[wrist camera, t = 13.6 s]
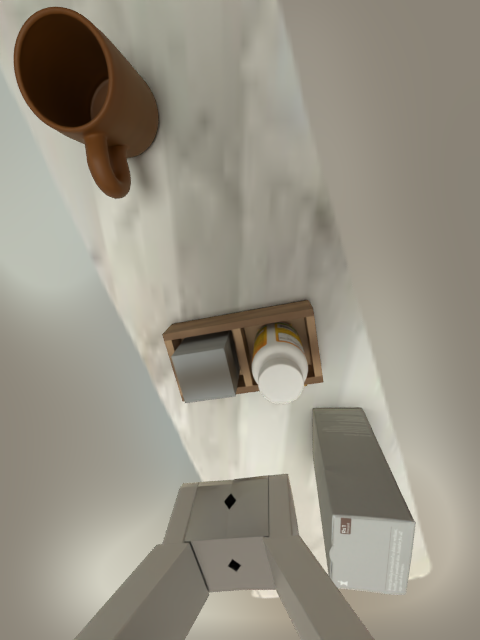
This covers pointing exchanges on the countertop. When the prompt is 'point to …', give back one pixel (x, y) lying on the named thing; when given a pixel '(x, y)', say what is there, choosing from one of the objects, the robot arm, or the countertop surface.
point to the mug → (86, 92)
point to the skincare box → (360, 505)
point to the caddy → (233, 350)
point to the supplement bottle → (279, 363)
